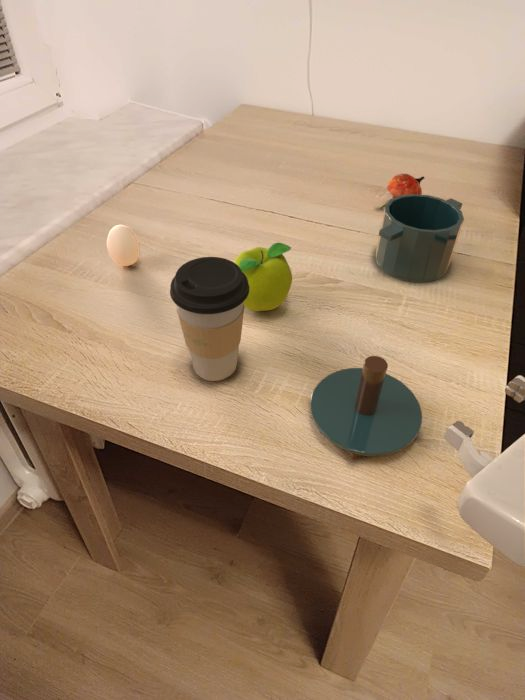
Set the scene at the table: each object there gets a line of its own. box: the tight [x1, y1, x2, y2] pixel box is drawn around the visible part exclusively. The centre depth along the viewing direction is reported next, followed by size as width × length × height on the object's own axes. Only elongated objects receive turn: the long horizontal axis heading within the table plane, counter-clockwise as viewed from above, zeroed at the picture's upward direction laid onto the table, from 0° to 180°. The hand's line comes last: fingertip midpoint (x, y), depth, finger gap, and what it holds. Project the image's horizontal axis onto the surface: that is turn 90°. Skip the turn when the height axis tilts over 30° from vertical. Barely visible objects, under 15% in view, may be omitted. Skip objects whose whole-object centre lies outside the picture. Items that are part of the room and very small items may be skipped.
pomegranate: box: [379, 173, 425, 210], centre depth 99 cm, size 7×7×10 cm
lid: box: [309, 355, 423, 457], centre depth 58 cm, size 13×13×9 cm
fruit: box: [233, 242, 293, 312], centre depth 75 cm, size 9×9×10 cm
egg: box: [106, 224, 141, 267], centre depth 84 cm, size 5×5×7 cm
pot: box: [375, 194, 465, 283], centre depth 84 cm, size 12×18×10 cm
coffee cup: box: [169, 256, 249, 382], centre depth 63 cm, size 9×9×15 cm
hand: (481, 404), depth 47 cm, fingers open, 8 cm apart
